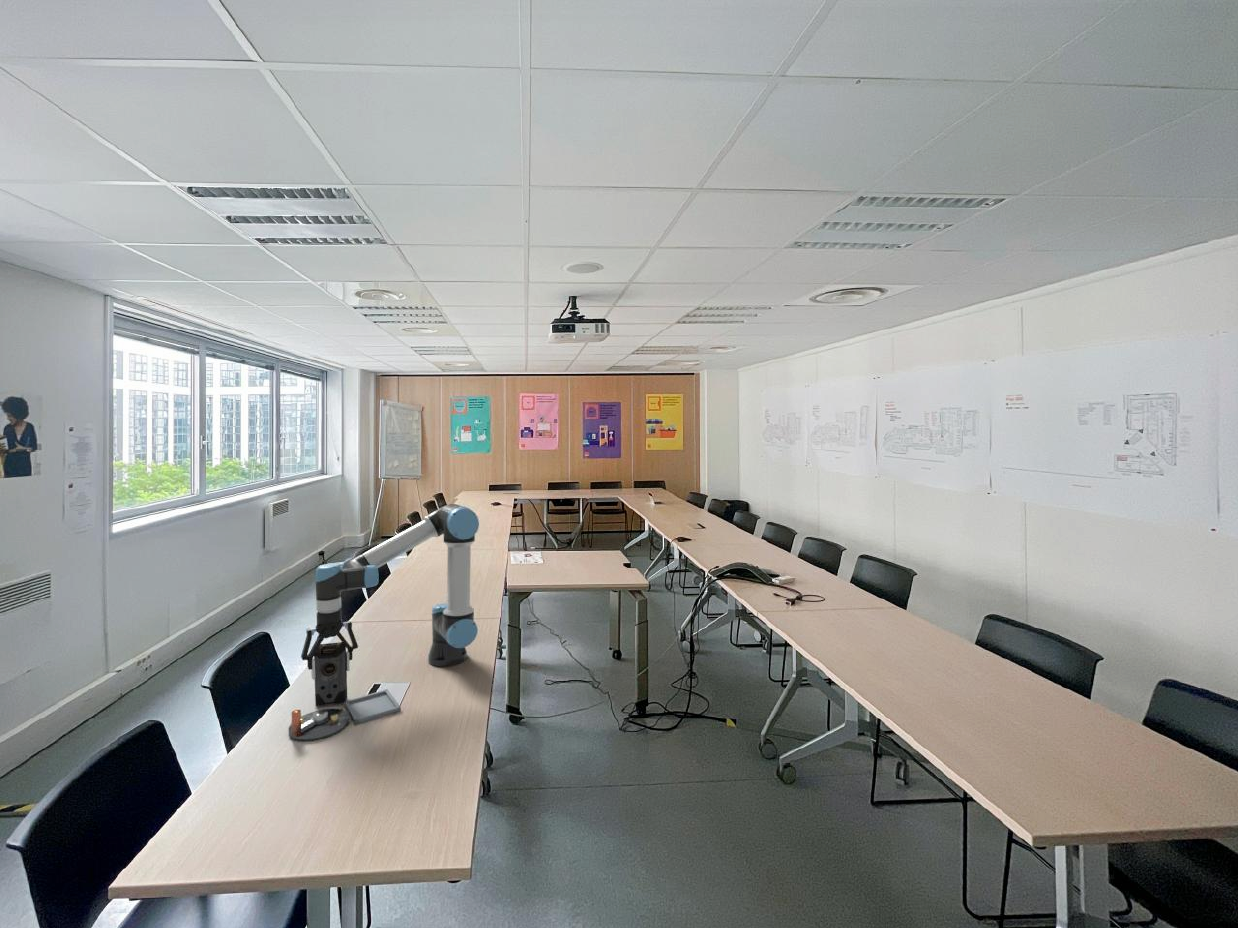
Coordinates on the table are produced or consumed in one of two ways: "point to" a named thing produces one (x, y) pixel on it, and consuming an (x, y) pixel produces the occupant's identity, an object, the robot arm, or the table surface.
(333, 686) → the electronic device
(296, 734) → the crank
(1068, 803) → the table surface
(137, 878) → the table surface
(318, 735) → the crank base
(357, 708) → the tray
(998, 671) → the table surface
